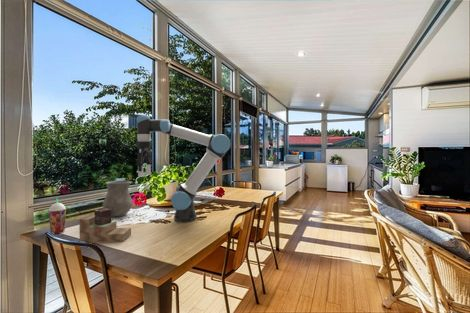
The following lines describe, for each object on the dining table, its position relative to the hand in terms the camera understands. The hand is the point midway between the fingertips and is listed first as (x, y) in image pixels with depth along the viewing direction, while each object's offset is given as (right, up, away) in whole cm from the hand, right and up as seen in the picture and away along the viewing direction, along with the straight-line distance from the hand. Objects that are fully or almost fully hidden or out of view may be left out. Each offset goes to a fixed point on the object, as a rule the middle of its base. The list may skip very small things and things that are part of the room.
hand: (144, 175), depth 146 cm
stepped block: (-13, -32, -20) cm, 40 cm away
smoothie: (-47, -33, -9) cm, 58 cm away
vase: (-29, -32, +26) cm, 50 cm away
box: (-15, -24, -20) cm, 34 cm away
